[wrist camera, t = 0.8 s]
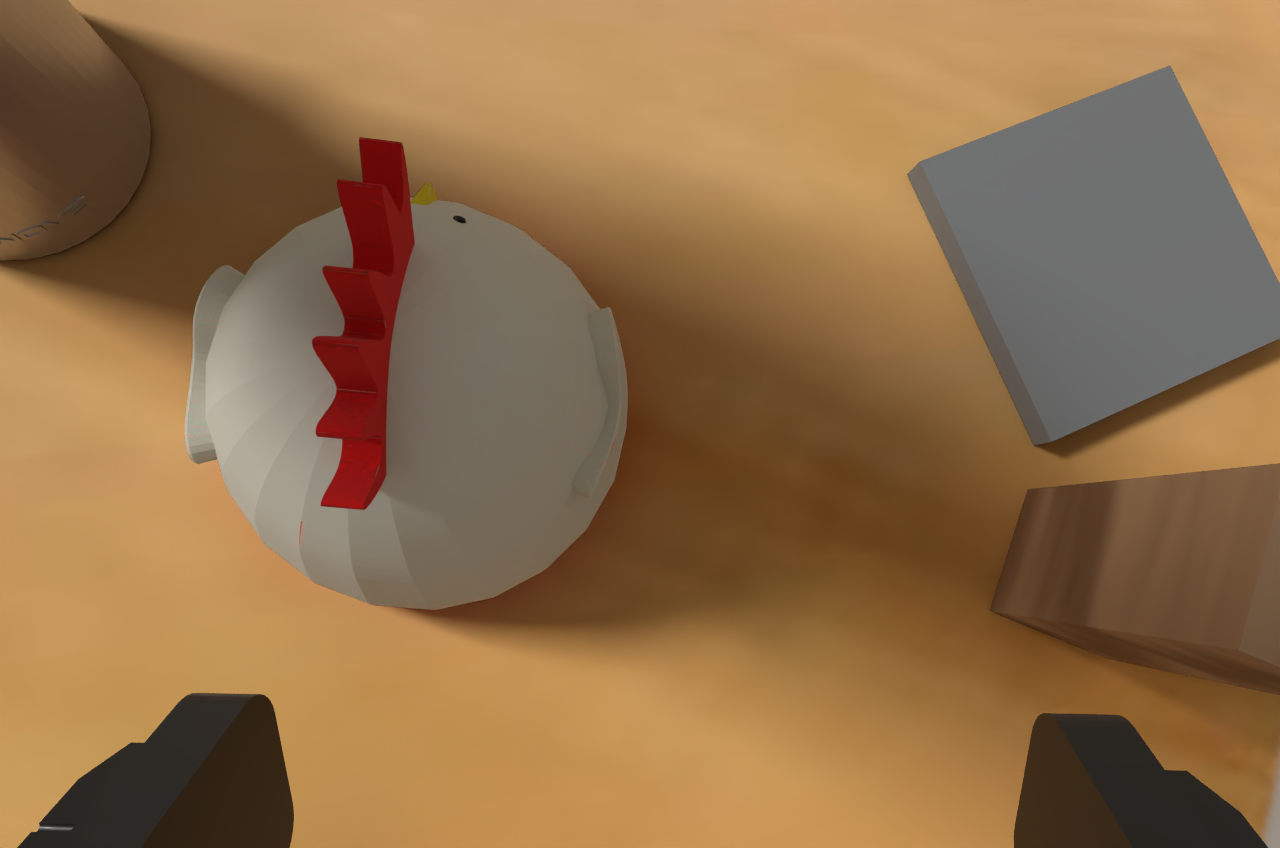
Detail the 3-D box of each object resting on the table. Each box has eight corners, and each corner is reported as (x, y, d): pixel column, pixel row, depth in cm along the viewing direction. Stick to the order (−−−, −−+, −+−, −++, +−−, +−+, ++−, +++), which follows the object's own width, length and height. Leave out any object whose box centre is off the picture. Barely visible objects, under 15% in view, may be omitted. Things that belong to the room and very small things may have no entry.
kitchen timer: (637, 257, 33) (712, 32, 19) (606, 618, 31) (662, 688, 17) (267, 214, 32) (30, -65, 17) (211, 588, 30) (-111, 636, 15)
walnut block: (989, 610, 33) (1238, 650, 21) (1028, 489, 34) (1287, 462, 22) (1106, 658, 33) (1416, 723, 21) (1141, 537, 34) (1459, 535, 22)
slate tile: (907, 174, 35) (919, 161, 34) (1149, 80, 37) (1170, 65, 36) (1033, 445, 34) (1051, 442, 33) (1276, 335, 36) (1301, 328, 35)
